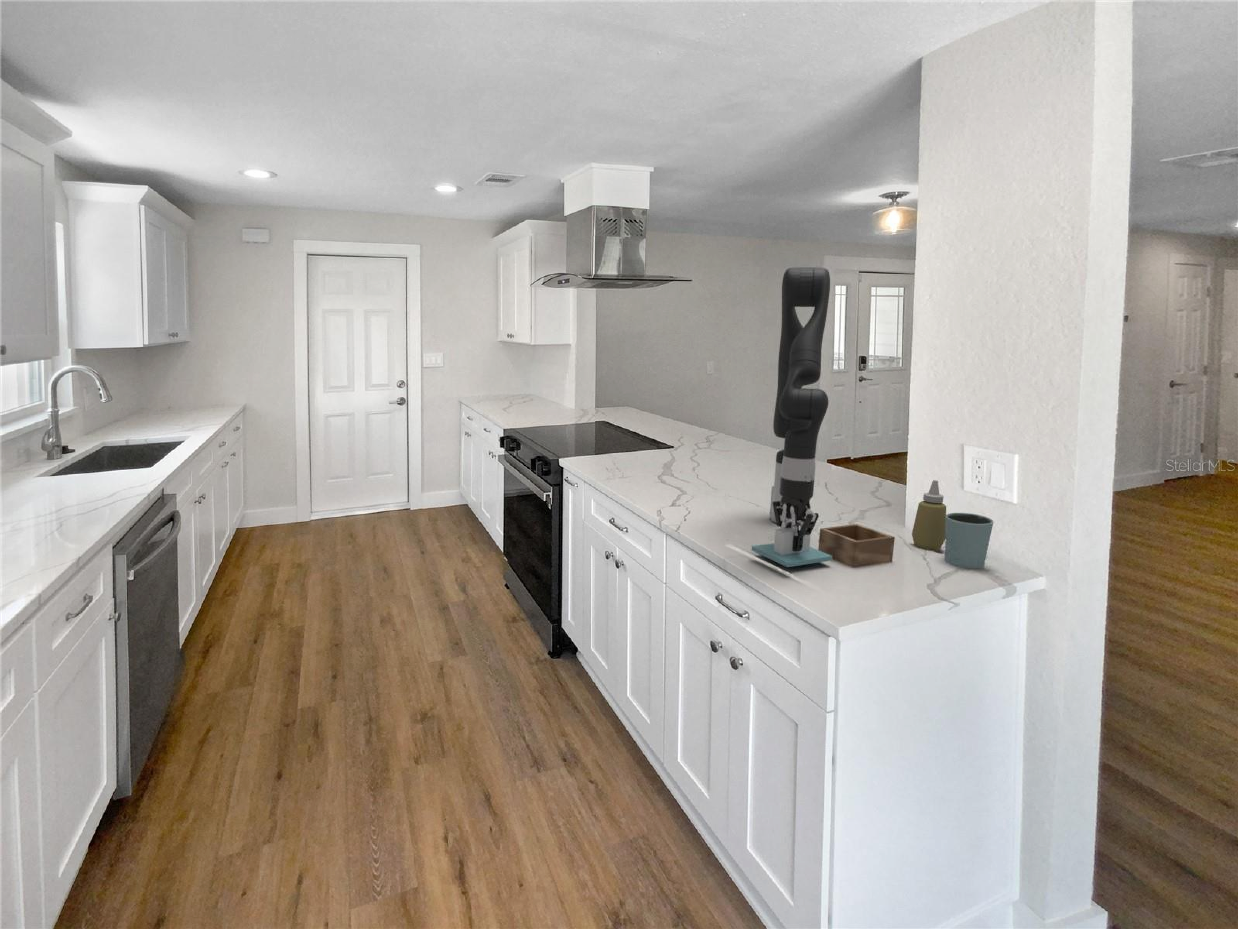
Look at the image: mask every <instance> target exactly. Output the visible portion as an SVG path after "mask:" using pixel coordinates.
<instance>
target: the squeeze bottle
mask: <svg viewBox="0 0 1238 929" xmlns="http://www.w3.org/2000/svg"><path fill="white" fill-rule="evenodd" d="M939 487H940V486H939V480H936V479H935V480H934V479H933V480H932V482H931V485H930V488H929V491H928V492H925V493H923V497H922V501H920V502H918V505H917V508H916V513H915V514H916V515H915V518H914V523H913V527H912V532H911V536H912V540H913V545H914V546H915V547H916V548H917V547H918V548H921V549H924V550H928V551H932V552H934V553H937V552H940V551H941V548H942V547H943V545H944V542H945V541H946V539H945V537H946V536H945V533H946V532H945V531H946V515H947V506H946V504H944V503H943V502H944V495H943V494H940V488H939Z"/></svg>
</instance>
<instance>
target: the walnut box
mask: <svg viewBox="0 0 1238 929" xmlns="http://www.w3.org/2000/svg"><path fill="white" fill-rule="evenodd" d="M818 539H819V540H818V549H817V550H819V551H821V552H824V553H826V554H828V555H831V556H832V560H834V561H835V560H836V561H837V562H838V563H843V564H844V565H847V566H849V567H851V568H854V569H855V568H862V567H868V566H869V567H870V566H873V565H879V564H885V563H892V562H893V558H894V547H895V540H896V537H895V536H893V535H890V534H887V533H884V532H882V531H879V530H876V529H873V528H871V527H870V528H869V527H867V526H865V525H862V524H858V523H853V524H847V525H846V524H844V525H838V526H830V527H824V528H820V529H819V538H818Z"/></svg>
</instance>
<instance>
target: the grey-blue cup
mask: <svg viewBox="0 0 1238 929" xmlns="http://www.w3.org/2000/svg"><path fill="white" fill-rule="evenodd" d="M994 522H995V521H994V520H993V519H992V518H990V517H988V516H984V515H982V514H981V515H980V514H976V513H970V512H969V513H968V512H951V513H950V512H949V513H946V531H945V532H946V533H945V536H946V537H945V541H944V542H945V544H944V562H946V563H947V564H949V565H951V566H955V567H959V568H965V569H982V570H984V569H985V564H986V562H985V561H986V558H987V555H988V554H987V553H988V549H989V548H988V547H989V545H990V544H989V543H990V539H991V535H992V530H993V525H994Z"/></svg>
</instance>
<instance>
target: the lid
mask: <svg viewBox="0 0 1238 929" xmlns="http://www.w3.org/2000/svg"><path fill="white" fill-rule="evenodd" d="M799 530H800V526H799ZM806 530H807V529H806ZM811 534H812V533H811ZM811 534H810V535H804V537H803V547H802V549H801V551H797V552H795V551H793V550H792V547H793V536H795V535H794V526H793V527H791V528H783V529H781V528H776V529H775V530H774V540H773V541H774V542H773V543H764V544H758V545H751V551H753V552H755V553H757V554H759V555H760V556H763V557H764V558H768V559H769V560H771V561H774V562H776V563H778V564H779V565H782V566H783V567H786V568H790V567H797V566H804V565H810V564H811V565H812V564H817V563H824V562H830V561H831V562H832V561H833V559H832V556H831V555H828V554H826V553H824V552H821V551H819V550H818V549H816V548H815V547H812V546H810V545H811Z"/></svg>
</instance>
